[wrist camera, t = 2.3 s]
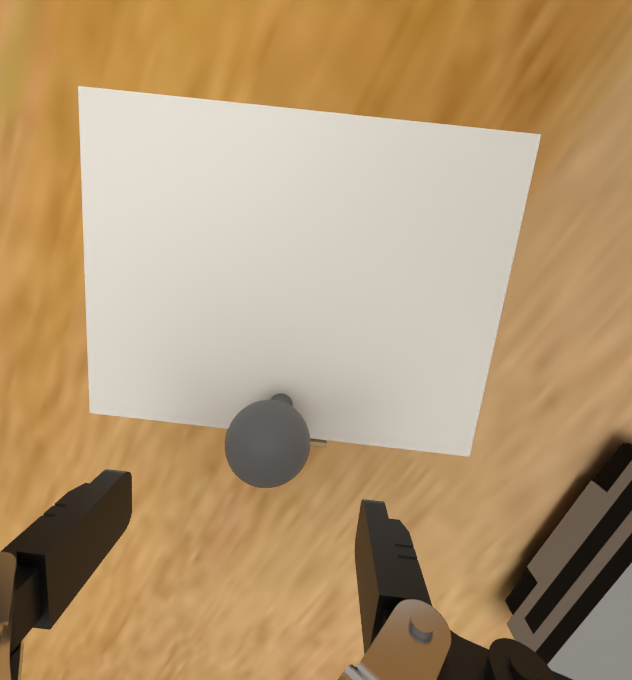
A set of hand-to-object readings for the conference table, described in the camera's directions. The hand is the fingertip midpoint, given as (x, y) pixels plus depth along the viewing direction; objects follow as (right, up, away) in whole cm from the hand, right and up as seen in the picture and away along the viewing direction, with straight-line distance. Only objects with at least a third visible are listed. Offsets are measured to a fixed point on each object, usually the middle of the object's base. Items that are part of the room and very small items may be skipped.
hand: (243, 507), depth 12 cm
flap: (+1, +9, +11) cm, 14 cm away
